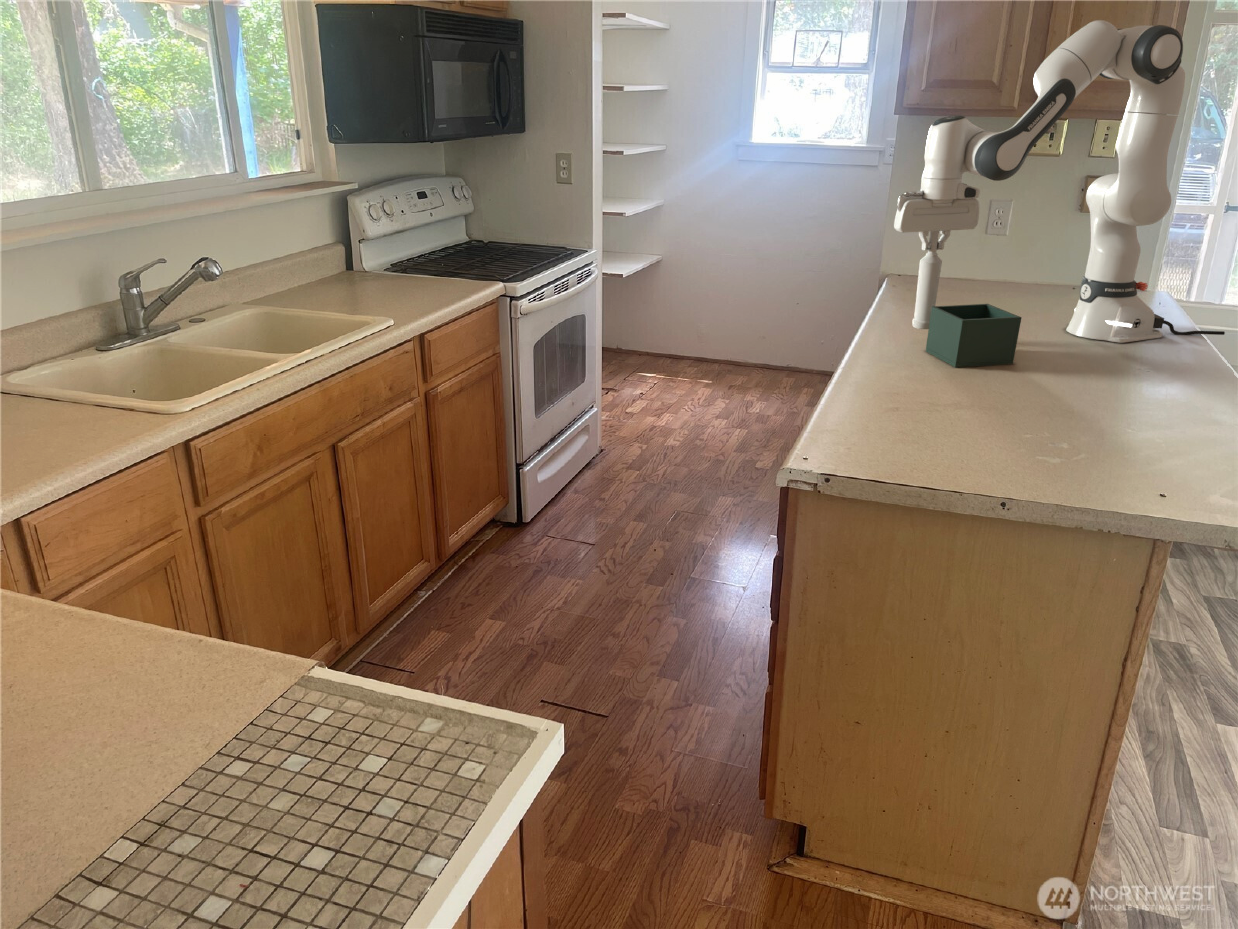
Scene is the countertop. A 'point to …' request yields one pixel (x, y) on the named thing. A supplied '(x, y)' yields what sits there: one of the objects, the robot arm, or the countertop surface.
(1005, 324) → the bin
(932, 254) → the bottle
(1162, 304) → the countertop surface
